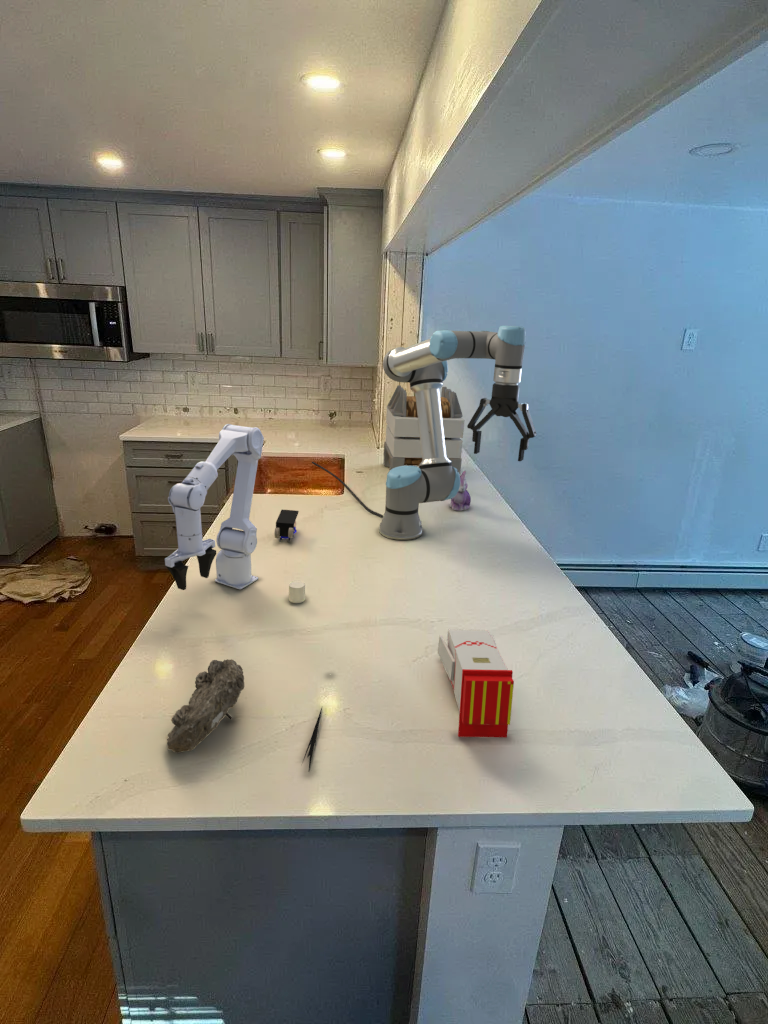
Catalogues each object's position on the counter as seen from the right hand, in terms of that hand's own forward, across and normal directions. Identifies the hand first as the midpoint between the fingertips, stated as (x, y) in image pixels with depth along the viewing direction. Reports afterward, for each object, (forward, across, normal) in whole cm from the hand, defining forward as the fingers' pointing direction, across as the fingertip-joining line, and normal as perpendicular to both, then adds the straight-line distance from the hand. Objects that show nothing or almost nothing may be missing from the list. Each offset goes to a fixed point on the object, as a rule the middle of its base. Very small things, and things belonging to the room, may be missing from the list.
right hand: (498, 456), depth 167 cm
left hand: (+27, -51, -72) cm, 92 cm away
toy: (+35, +20, -62) cm, 74 cm away
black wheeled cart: (+35, -64, -20) cm, 76 cm away
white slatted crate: (+35, -65, +80) cm, 109 cm away
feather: (+35, 0, -86) cm, 93 cm away
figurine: (+35, -29, +45) cm, 64 cm away
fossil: (+35, -18, -97) cm, 105 cm away
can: (+35, -34, -52) cm, 71 cm away
